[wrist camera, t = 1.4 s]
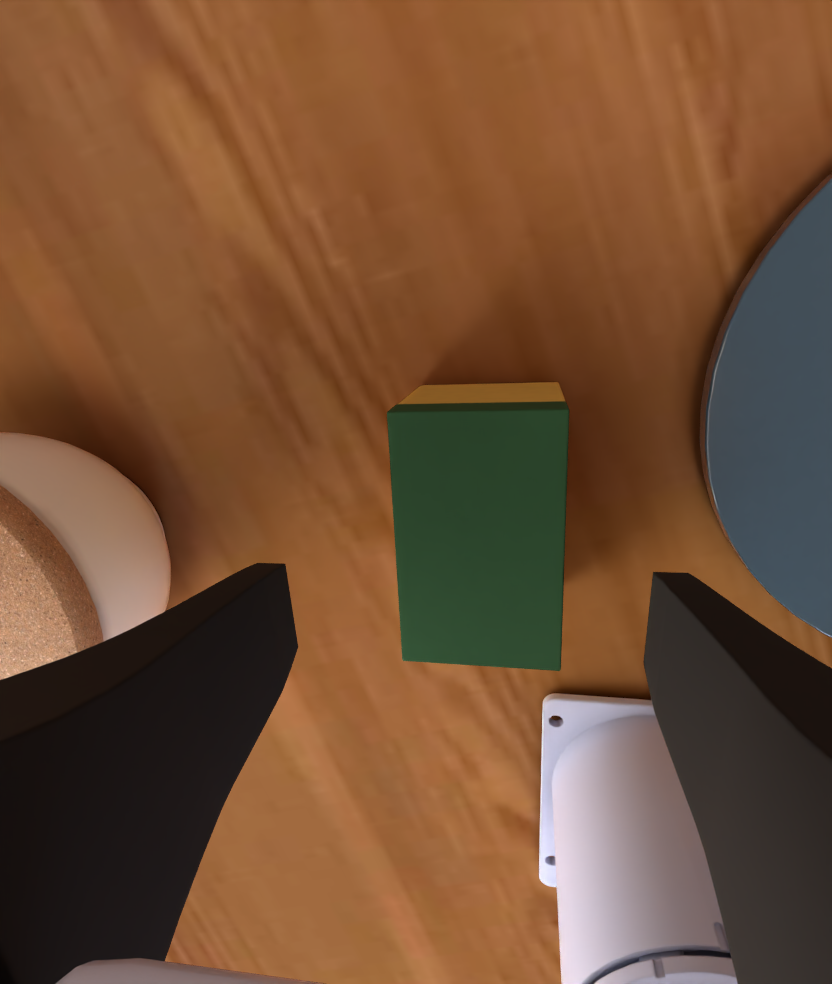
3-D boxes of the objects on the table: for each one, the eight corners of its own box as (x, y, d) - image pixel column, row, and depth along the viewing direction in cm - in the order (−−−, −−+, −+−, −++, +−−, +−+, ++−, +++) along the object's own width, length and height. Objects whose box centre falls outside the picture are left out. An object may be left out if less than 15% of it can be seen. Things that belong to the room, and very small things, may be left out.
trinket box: (247, 642, 24) (90, 834, 16) (33, 650, 27) (-207, 821, 18) (179, 387, 21) (-62, 447, 13) (-55, 420, 24) (-397, 491, 15)
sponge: (553, 589, 21) (560, 671, 17) (428, 584, 22) (402, 661, 17) (559, 381, 19) (569, 408, 14) (419, 384, 20) (386, 411, 15)
